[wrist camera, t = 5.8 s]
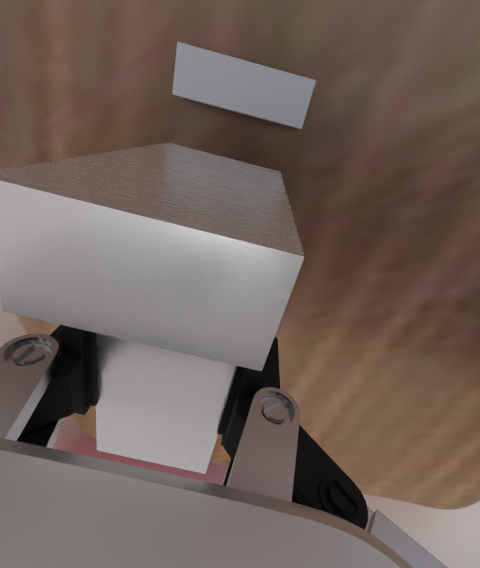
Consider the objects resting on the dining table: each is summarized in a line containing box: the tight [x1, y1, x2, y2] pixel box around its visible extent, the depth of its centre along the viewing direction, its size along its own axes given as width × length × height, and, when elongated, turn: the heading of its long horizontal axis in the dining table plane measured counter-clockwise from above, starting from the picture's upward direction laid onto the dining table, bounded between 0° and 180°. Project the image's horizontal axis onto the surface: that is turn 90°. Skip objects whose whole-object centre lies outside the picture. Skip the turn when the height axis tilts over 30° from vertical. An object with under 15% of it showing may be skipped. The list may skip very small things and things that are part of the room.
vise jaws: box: [172, 42, 316, 129], centre depth 22 cm, size 8×17×3 cm, turn 167°
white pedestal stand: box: [0, 142, 305, 474], centre depth 9 cm, size 4×10×8 cm, turn 167°
